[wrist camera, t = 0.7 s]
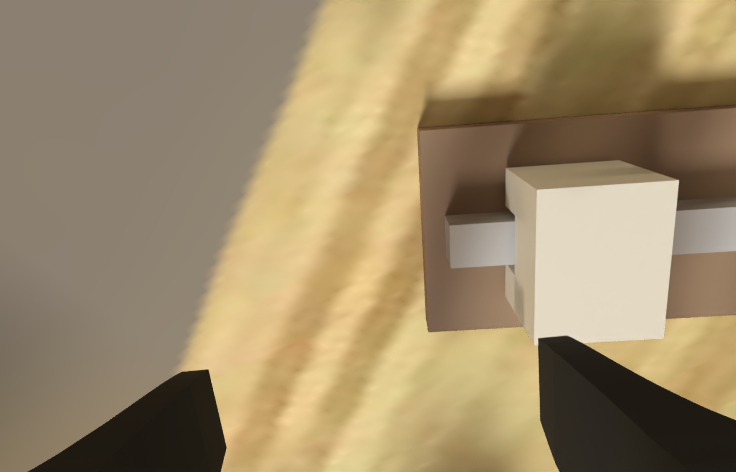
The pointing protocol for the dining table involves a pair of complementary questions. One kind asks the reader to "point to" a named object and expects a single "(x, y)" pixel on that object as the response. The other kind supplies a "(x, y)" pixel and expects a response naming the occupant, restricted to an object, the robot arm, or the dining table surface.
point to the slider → (591, 250)
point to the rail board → (564, 146)
